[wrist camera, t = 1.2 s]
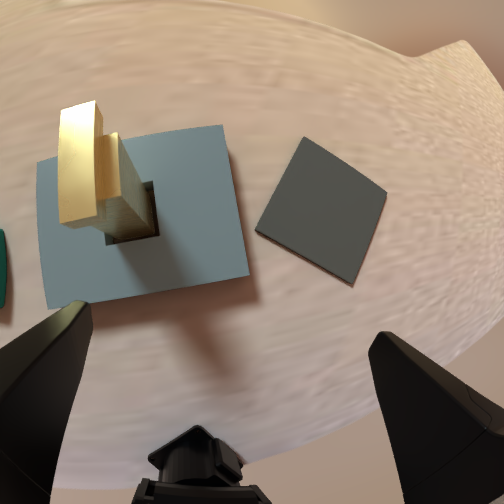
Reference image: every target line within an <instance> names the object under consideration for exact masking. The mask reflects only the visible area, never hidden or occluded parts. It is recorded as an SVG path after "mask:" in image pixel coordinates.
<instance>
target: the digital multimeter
mask: <svg viewBox="0 0 504 504" xmlns="http://www.w3.org/2000/svg"><path fill="white" fill-rule="evenodd" d="M6 278H7V260H6V249H5V241H4V233H3V230H2V229H0V308H2V307H3V306H4V300H5V291H6Z"/></svg>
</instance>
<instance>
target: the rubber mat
mask: <svg viewBox="0 0 504 504" xmlns="http://www.w3.org/2000/svg"><path fill="white" fill-rule="evenodd" d="M386 195H387V192H386V191H385V190H383V189H382V188H381V187H379V186H378V185H377V184H375V183H374V182H373V181H371V180H370V179H368V178H367V177H366V176H364V175H363V174H361V173H360V172H358V171H357V170H356V169H354V168H353V167H351V166H350V165H348V164H347V163H345V162H344V161H342V160H341V159H339V158H338V157H336V156H335V155H333V154H332V153H330V152H328V151H327V150H325V149H324V148H322V147H321V146H319V145H317V144H316V143H314V142H313V141H311V140H309V139H308V138H306V137H303V138H302V140H301V142H300V144H299V146H298V148H297V150H296V151H295V153H294V155H293V157H292V159H291V161H290V163H289V165H288V167H287V169H286V170H285V172H284V174H283V176H282V178H281V180H280V182H279V184H278V186H277V188H276V190H275V191H274V193H273V195H272V197H271V199H270V201H269V203H268V205H267V207H266V209H265V211H264V213H263V214H262V216H261V218H260V220H259V222H258V224H257V226H256V228H255V230H256V231H258V232H259V233H261V234H263V235H265V236H267V237H268V238H270V239H272V240H274V241H276V242H277V243H279V244H281V245H283V246H285V247H286V248H288V249H290V250H292V251H294V252H295V253H297V254H299V255H301V256H302V257H304V258H306V259H308V260H309V261H311V262H313V263H315V264H317V265H318V266H320V267H322V268H324V269H325V270H327V271H329V272H331V273H332V274H334V275H336V276H338V277H339V278H341V279H343V280H345V281H346V282H348V283H350V284H353V282H354V279H355V277H356V275H357V272H358V270H359V267H360V265H361V263H362V260H363V258H364V255H365V253H366V250H367V248H368V245H369V242H370V240H371V237H372V235H373V232H374V229H375V226H376V224H377V221H378V218H379V215H380V213H381V210H382V207H383V204H384V201H385V198H386Z"/></svg>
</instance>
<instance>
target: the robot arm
mask: <svg viewBox="0 0 504 504" xmlns="http://www.w3.org/2000/svg"><path fill="white" fill-rule="evenodd" d="M92 331H93V322H92V315H91V307H90V304H89V303H88V302H85V301H80V300H75V301H73V302H72V303H70V304H69V305H67V306H65V307H64V308H62V309H61V310H59V311H57V312H56V313H54V314H53V315H51V316H49V317H48V318H46V319H45V320H43V321H42V322H40V323H39V324H37V325H35V326H34V327H32V328H31V329H29V330H28V331H26V332H25V333H23V334H22V335H20V336H19V337H17V338H16V339H14V340H13V341H11V342H10V343H8V344H7V345H5V346H4V347H2V348H1V349H0V504H50V495H51V491H52V486H53V480H54V475H55V471H56V466H57V461H58V457H59V453H60V449H61V445H62V441H63V437H64V433H65V429H66V426H67V422H68V419H69V415H70V412H71V408H72V405H73V402H74V399H75V396H76V392H77V389H78V386H79V383H80V380H81V377H82V373H83V369H84V364H85V360H86V356H87V351H88V347H89V343H90V339H91V335H92ZM368 357H369V361H370V366H371V371H372V375H373V380H374V385H375V390H376V394H377V398H378V401H379V404H380V408H381V411H382V414H383V418H384V421H385V425H386V428H387V432H388V436H389V439H390V443H391V447H392V451H393V455H394V458H395V462H396V467H397V471H398V474H399V479H400V483H401V488H402V492H403V493H404V494H403V498H404V502H405V504H504V409H503V408H502V407H500V406H499V405H497V404H495V403H493V402H492V401H490V400H489V399H487V398H486V397H484V396H483V395H481V394H479V393H478V392H477V391H475V390H474V389H472V388H471V387H470V386H468V385H467V384H465V383H463V382H462V381H461V380H459V379H458V378H457V377H455V376H454V375H452V374H451V373H450V372H448V371H447V370H445V369H444V368H442V367H441V366H440V365H438V364H437V363H435V362H434V361H432V360H431V359H430V358H428V357H427V356H425V355H424V354H422V353H421V352H419V351H418V350H417V349H415V348H414V347H412V346H411V345H409V344H408V343H406V342H405V341H404V340H402V339H401V338H399V337H398V336H396V335H395V334H393V333H392V332H389V331H381V332H379V333H378V334H377V336H376V338H375V339H374V341H373V343H372V345H371V346H370V348H369V351H368ZM196 430H200V432H196ZM151 458H155V459H151ZM148 461H149V462H150V463H151V464H152V465H154V466H155V467H156V468H157V469H158V470H159V479H158V481H152V480H150V479H146V478H142V481H141V484H139V485H138V487H137V490H136V492H135V495H134V497H133V500H132V503H131V504H272V503H271V501H270V500H269V499H268V498H267V497H266V496H265V495H264V493H263V492H262V491H261V490H260V489H259V487H258V486H257V485H249V486H240V483H239V481H241V480H242V478H243V476H242V473H241V470H240V469H241V468H242V467H243V464H242V462H241V461H240V460H239V459H238V458H237V456H236V453H235V452H233V451H232V450H231V449H230V448H229V447H228V446H227V445H225V444H224V443H223V442H222V441H221V440H220V439H219V438H214V437H212V436H211V435H210V434H209V433H208V432H207V431H206V430H205V429H204V428H203V427H202V426H199V425H196V426H193V427H192V428H190V429H189V430H187V431H186V432H184V433H183V434H181V435H180V436H178V437H177V438H175V439H173V440H172V441H170V442H169V443H167V444H166V445H164V446H162V447H161V448H159V449H157V450H156V451H154V452H152V453H151V454H149V455H148Z"/></svg>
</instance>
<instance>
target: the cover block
mask: <svg viewBox="0 0 504 504" xmlns="http://www.w3.org/2000/svg"><path fill="white" fill-rule="evenodd" d="M121 141H122V143H123V145H124V147H125V149H126V151H127V153H128V155H129V157H130V159H131V161H132V163H133V165H134V167H135V169H136V171H137V173H138V175H139V177H140V179H141V181H142V183H143V185H144V187H145V189H146V190H147V191H152V190H154V194H155V202H156V210H157V217H158V225H159V232H160V236H157V237H151V238H146V239H140V240H135V241H129V242H124V243H119V244H113V237H112V236H110V235H108V234H106V233H104V232H102V231H100V230H98V229H96V228H94V227H92V226H87V227H82V228H78V229H72V228H69V227H67V226H64V225H62V224H60V221H59V208H58V156H57V157H53V158H50V159H47V160H44V161H40V162H37V183H36V198H37V226H38V241H39V252H40V261H41V269H42V277H43V283H44V290H45V296H46V301H47V307H48V310H49V309H56V308H63V307H65V306H67V305H69V304H70V303H72V302H73V301H75V300H80V301H85V302H88V303H95V302H101V301H107V300H113V299H119V298H125V297H131V296H137V295H143V294H149V293H155V292H161V291H166V290H172V289H178V288H183V287H189V286H194V285H200V284H205V283H211V282H216V281H222V280H227V279H232V278H238V277H243V276H248V275H250V273H249V268H248V263H247V257H246V252H245V246H244V241H243V235H242V230H241V224H240V219H239V213H238V208H237V202H236V197H235V191H234V186H233V180H232V175H231V169H230V163H229V158H228V152H227V147H226V141H225V135H224V130H223V125H215V126H206V127H197V128H190V129H182V130H175V131H169V132H163V133H157V134H151V135H145V136H140V137H135V138H130V139H125V140H121Z"/></svg>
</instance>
